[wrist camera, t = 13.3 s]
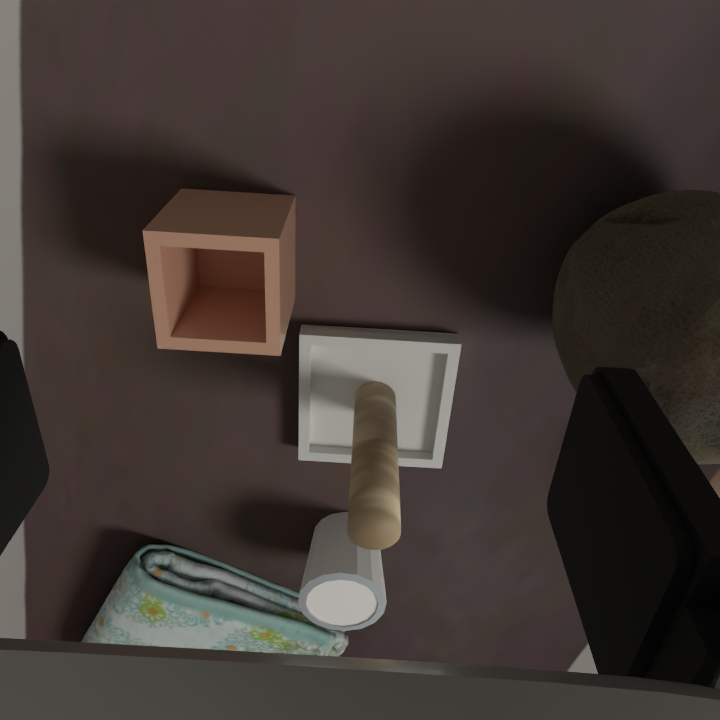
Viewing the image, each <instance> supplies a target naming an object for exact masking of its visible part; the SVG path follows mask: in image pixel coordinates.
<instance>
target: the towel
mask: <svg viewBox="0 0 720 720" xmlns="http://www.w3.org/2000/svg"><path fill="white" fill-rule="evenodd" d="M299 594H300V593H299V592H296V591H293V590H291V589H288V588H286V587H283V586H281V585H278V584H275V583H272V582H270V581H267V580H265V579H263V578H260V577H258V576H255V575H253V574H250V573H248V572H245V571H243V570H240V569H238V568H236V567H233V566H231V565H228V564H226V563H223V562H220V561H217V560H215V559H212V558H210V557H208V556H205V555H202V554H200V553H197V552H194V551H191V550H188V549H185V548H181V547H176V546H172V545H157V544H149V545H146V546H144V547H142V548H141V549H139V550H138V551H137V552H136V553H135V554H134V556H133V558H132V559H131V560H130V561H129V563H128V564H127V566H126V567H125V568H124V570H123V572H122V573H121V575H120V577H119V578H118V580H117V582H116V583H115V585H114V586H113V588H112V590H111V592H110V593H109V595H108V597H107V598H106V600H105V602H104V604H103V606H102V607H101V609H100V611H99V612H98V614H97V616H96V618H95V619H94V621H93V622H92V624H91V626H90V627H89V629H88V631H87V632H86V634H85V635H84V637H83V639H82V641H81V642H87V643H106V644H124V645H142V646H160V647H178V648H196V649H214V650H232V651H249V652H267V653H284V654H302V655H319V656H336V657H339V656H340V655H341V654H342V653H343V652H344V650H345V648H346V647H347V645H348V636H346V635H344V634H343V633H344V632H345V631H341V630H332V629H327V628H324V627H322V626H319V625H317V624H314V623H313V622H311V621H310V620H309V619H308V618H307V617H306V616H304V615H303V613H302V611H301V609H300V607H299V604H298V600H299Z"/></svg>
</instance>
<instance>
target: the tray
mask: <svg viewBox="0 0 720 720" xmlns="http://www.w3.org/2000/svg"><path fill="white" fill-rule="evenodd" d="M460 350H461V340H460V336H459V334H455V333H438V332H422V331H405V330H389V329H372V328H356V327H339V326H323V325H306V324H302V325H301V329H300V334H299V456H298V460H306V461H323V462H340V463H351V457H352V440H353V422H354V404H355V394H356V392H357V390H358V389H359V388H360V387H361V386H362V385H364V384H366V383H369V382H382V383H385V384H387V385H388V386H390V387H391V388H392V389H393V391H394V393H395V396H396V417H397V442H398V466H408V467H425V468H442V463H443V456H444V450H445V444H446V438H447V431H448V425H449V419H450V413H451V406H452V400H453V394H454V388H455V381H456V375H457V369H458V363H459V356H460Z"/></svg>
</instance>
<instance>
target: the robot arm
mask: <svg viewBox="0 0 720 720" xmlns="http://www.w3.org/2000/svg"><path fill="white" fill-rule="evenodd" d="M48 476H49V464H48V460H47V456H46V452H45V449H44V445H43V441H42V437H41V433H40V429H39V425H38V422H37V418H36V414H35V410H34V406H33V402H32V399H31V395H30V391H29V387H28V383H27V379H26V376H25V372H24V368H23V364H22V360H21V356H20V353H19V349H18V346H17V344H16V343H15V342H14V341H13V340H8V338H7V336H6V335H5V334H4V333H3V332H2V331H0V555H1V553H2V552H3V551H4V549H5V548H6V546H7V544H8V543H9V541H10V540H11V538H12V537H13V535H14V534H15V532H16V531H17V529H18V528H19V526H20V524H21V523H22V521H23V520H24V518H25V517H26V515H27V514H28V512H29V511H30V509H31V508H32V506H33V505H34V503H35V501H36V500H37V498H38V497H39V495H40V494H41V492H42V491H43V489H44V488H45V486H46V484H47V480H48ZM547 509H548V516H549V519H550V522H551V526H552V529H553V532H554V535H555V538H556V541H557V545H558V548H559V551H560V554H561V557H562V560H563V564H564V567H565V570H566V573H567V576H568V579H569V583H570V586H571V589H572V592H573V595H574V599H575V602H576V605H577V608H578V611H579V614H580V618H581V621H582V624H583V627H584V630H585V633H586V637H587V640H588V643H589V646H590V649H591V652H592V655H593V659H594V662H595V665H596V668H597V671H598V674H589V673H577V672H564V671H552V670H539V669H526V668H514V667H497V666H481V665H465V664H449V663H433V662H417V661H401V660H384V659H368V658H352V657H336V656H319V655H302V654H284V653H267V652H249V651H232V650H214V649H196V648H178V647H160V646H142V645H124V644H106V643H87V642H67V641H48V640H28V639H9V638H7V639H6V638H0V720H720V498H719V497H718V495H717V494H716V492H715V491H714V489H713V488H712V486H711V485H710V483H709V481H708V480H707V478H706V477H705V475H704V474H703V472H702V471H701V469H700V468H699V466H698V465H697V463H696V461H695V460H694V458H693V457H692V456H691V454H690V453H689V451H688V450H687V448H686V446H685V445H684V443H683V442H682V440H681V439H680V437H679V436H678V434H677V433H676V431H675V430H674V428H673V427H672V425H671V423H670V422H669V420H668V419H667V417H666V416H665V414H664V413H663V411H662V410H661V408H660V407H659V405H658V404H657V402H656V401H655V399H654V397H653V396H652V394H651V393H650V391H649V390H648V388H647V387H646V385H645V384H644V382H643V381H642V379H641V378H640V376H639V374H638V373H637V372H636V371H635V370H634V369H631V368H616V367H600V366H598V367H597V368H595V370H594V371H593V372H592V375H589V374H585V375H583V377H582V378H581V381H580V384H579V387H578V391H577V394H576V398H575V401H574V405H573V408H572V412H571V415H570V419H569V423H568V426H567V430H566V433H565V437H564V440H563V444H562V447H561V451H560V454H559V458H558V461H557V465H556V469H555V472H554V476H553V479H552V483H551V486H550V490H549V494H548V500H547Z"/></svg>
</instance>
